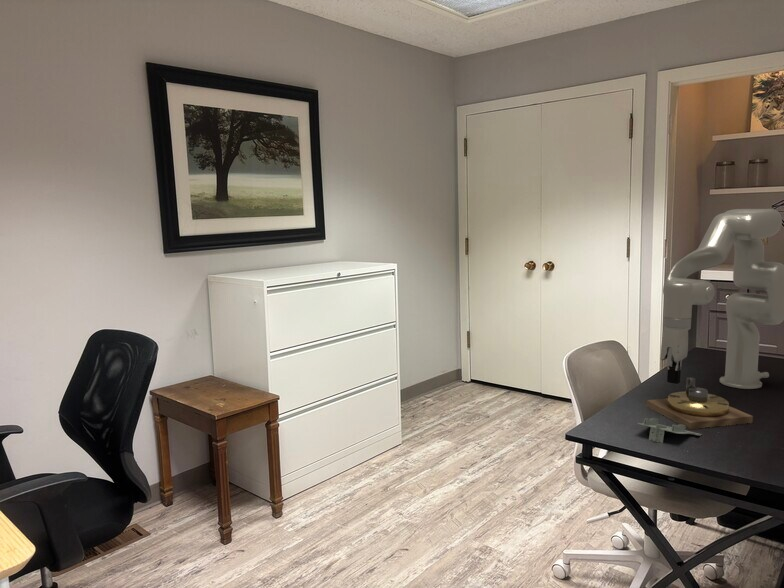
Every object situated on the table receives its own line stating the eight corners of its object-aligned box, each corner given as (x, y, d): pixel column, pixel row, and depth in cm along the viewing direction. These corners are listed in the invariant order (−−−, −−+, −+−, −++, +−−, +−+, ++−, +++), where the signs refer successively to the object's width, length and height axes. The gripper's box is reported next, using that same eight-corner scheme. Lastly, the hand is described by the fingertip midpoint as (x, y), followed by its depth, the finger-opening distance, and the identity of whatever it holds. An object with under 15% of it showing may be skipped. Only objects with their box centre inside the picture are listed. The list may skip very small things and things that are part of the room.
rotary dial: (702, 396, 187) (703, 375, 186) (741, 413, 171) (742, 390, 170) (656, 400, 184) (657, 379, 183) (692, 418, 168) (693, 395, 167)
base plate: (703, 400, 190) (703, 394, 189) (752, 422, 170) (752, 415, 170) (646, 406, 186) (646, 399, 186) (690, 429, 166) (690, 422, 166)
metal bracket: (687, 428, 153) (629, 414, 164) (683, 450, 153) (625, 435, 163) (704, 428, 163) (649, 415, 174) (701, 449, 163) (646, 435, 174)
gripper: (672, 318, 187) (669, 375, 189) (654, 324, 176) (651, 385, 178) (698, 321, 182) (694, 379, 184) (681, 328, 171) (677, 390, 173)
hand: (673, 382), depth 181 cm, fingers closed
